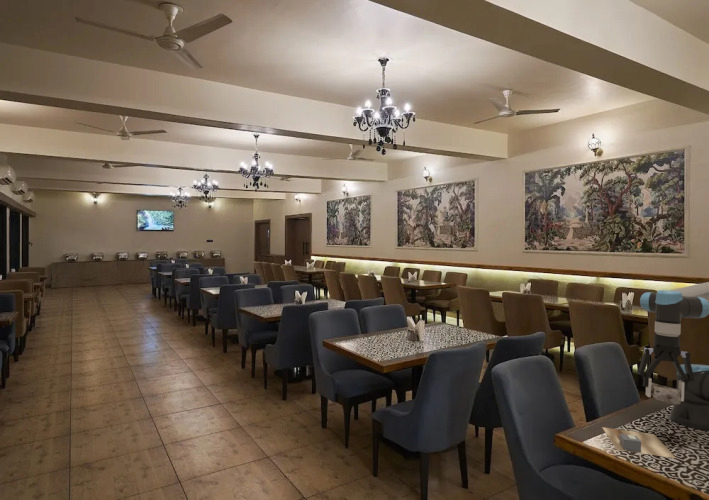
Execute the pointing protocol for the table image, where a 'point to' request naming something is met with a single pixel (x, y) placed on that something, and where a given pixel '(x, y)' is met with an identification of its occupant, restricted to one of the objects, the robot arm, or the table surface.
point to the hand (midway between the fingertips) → (664, 398)
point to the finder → (630, 443)
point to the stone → (665, 394)
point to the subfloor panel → (648, 442)
